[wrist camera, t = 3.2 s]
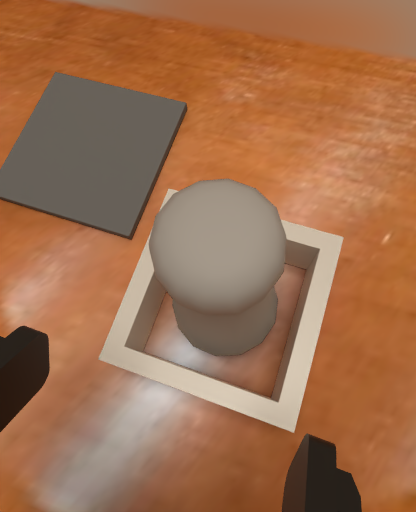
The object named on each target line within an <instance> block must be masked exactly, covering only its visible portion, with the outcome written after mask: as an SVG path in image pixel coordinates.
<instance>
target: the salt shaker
mask: <svg viewBox="0 0 416 512" xmlns="http://www.w3.org/2000/svg"><path fill="white" fill-rule="evenodd" d="M286 247H287V238H286V233H285V231H284V228H283V225H282V222H281V219H280V216H279V214H278V211H277V208H276V207H275V206H274V205H273V204H272V203H271V202H270V201H269V200H267V199H266V198H265V197H264V196H263V195H262V194H261V193H260V192H259V191H258V190H257V189H256V188H253V187H250V186H247V185H245V184H242V183H239V182H236V181H233V180H231V179H218V180H206V181H198V182H196V183H194V184H192V185H190V186H188V187H186V188H184V189H182V190H180V191H178V192H176V193H174V194H173V195H172V196H171V198H170V199H169V200H168V201H167V203H166V204H165V205H164V206H163V208H162V209H161V210H160V211H159V213H158V214H157V215H156V217H155V221H154V224H153V228H152V232H151V236H150V240H149V250H150V255H151V259H152V263H153V267H154V271H155V275H156V279H157V280H158V281H159V283H160V284H161V285H162V286H163V287H164V289H165V290H166V291H167V292H168V293H169V295H170V296H171V297H172V298H173V304H172V305H173V309H174V313H175V317H176V321H177V324H178V328H179V329H180V330H181V332H182V333H183V334H184V335H185V337H186V338H187V339H188V340H189V342H190V343H191V344H192V345H193V346H194V347H196V348H199V349H201V350H203V351H206V352H208V353H210V354H213V355H215V356H226V355H241V354H243V353H244V352H246V351H248V350H250V349H252V348H253V347H255V346H257V345H259V344H260V343H262V341H263V340H264V338H265V337H266V336H267V334H268V333H269V331H270V330H271V328H272V327H273V325H274V324H275V320H276V312H277V304H278V298H277V295H276V292H275V289H274V285H275V284H276V282H277V281H278V279H279V278H280V276H281V275H282V273H283V272H284V264H285V255H286Z"/></svg>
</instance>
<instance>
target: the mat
mask: <svg viewBox="0 0 416 512" xmlns="http://www.w3.org/2000/svg"><path fill="white" fill-rule="evenodd" d="M186 110H187V104H186V103H185V102H180V101H176V100H172V99H168V98H163V97H159V96H155V95H151V94H147V93H142V92H138V91H134V90H130V89H125V88H121V87H117V86H113V85H108V84H104V83H100V82H96V81H91V80H87V79H83V78H79V77H74V76H70V75H66V74H62V73H57V72H55V74H54V76H53V77H52V79H51V81H50V83H49V84H48V86H47V88H46V90H45V91H44V93H43V95H42V97H41V99H40V100H39V102H38V104H37V106H36V107H35V109H34V111H33V113H32V114H31V116H30V118H29V120H28V122H27V123H26V125H25V127H24V129H23V130H22V132H21V134H20V136H19V137H18V139H17V141H16V143H15V145H14V146H13V148H12V150H11V152H10V153H9V155H8V157H7V159H6V160H5V162H4V164H3V166H2V168H1V169H0V199H2V200H5V201H9V202H12V203H15V204H18V205H21V206H25V207H28V208H31V209H34V210H38V211H41V212H44V213H47V214H51V215H54V216H57V217H60V218H63V219H67V220H70V221H73V222H76V223H80V224H83V225H86V226H89V227H92V228H96V229H99V230H102V231H105V232H109V233H112V234H115V235H118V236H122V237H125V238H128V239H132V237H133V235H134V232H135V230H136V228H137V225H138V223H139V221H140V218H141V216H142V214H143V211H144V209H145V207H146V204H147V202H148V200H149V197H150V195H151V193H152V190H153V188H154V185H155V183H156V181H157V178H158V176H159V174H160V171H161V169H162V167H163V164H164V162H165V160H166V157H167V155H168V153H169V150H170V148H171V146H172V143H173V141H174V139H175V136H176V134H177V131H178V129H179V127H180V124H181V122H182V120H183V117H184V115H185V113H186Z"/></svg>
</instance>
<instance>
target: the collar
mask: <svg viewBox="0 0 416 512" xmlns="http://www.w3.org/2000/svg"><path fill="white" fill-rule="evenodd" d="M176 192H178V191H176V190H172V189H168V192H167V194H166V196H165V199H164V201H163V204H162V206H161V209H162V208H163V206H164V205H165V204H166V203H167V201H168V200H169V199H170V198H171V196H172V195H173V194H174V193H176ZM161 209H160V210H161ZM281 222H282V225H283V228H284V231H285V233H286V238H287V247H286V255H285V263H286V264H289V265H293V266H296V267H299V268H303V269H306V273H305V277H304V281H303V284H302V288H301V291H300V295H299V299H298V302H297V306H296V310H295V313H294V317H293V320H292V324H291V328H290V331H289V335H288V338H287V342H286V346H285V349H284V353H283V357H282V360H281V364H280V367H279V371H278V375H277V378H276V382H275V385H274V389H273V393H272V396H271V398H270V397H267V396H264V395H261V394H259V393H256V392H253V391H250V390H247V389H245V388H242V387H239V386H236V385H234V384H231V383H228V382H225V381H223V380H220V379H217V378H214V377H212V376H209V375H206V374H203V373H201V372H198V371H195V370H192V369H190V368H187V367H184V366H181V365H179V364H176V363H173V362H170V361H168V360H165V359H162V358H159V357H157V356H154V355H151V354H148V353H146V352H143V350H144V348H145V345H146V342H147V340H148V337H149V335H150V332H151V329H152V327H153V324H154V321H155V319H156V316H157V314H158V311H159V308H160V306H161V303H162V301H163V298H164V295H165V293H166V290H165V289H164V287H163V286H162V285H161V284H160V283H159V281H158V280H157V279H156V275H155V271H154V267H153V263H152V259H151V255H150V250H149V240H150V236H151V233H150V235H149V238H148V240H147V242H146V245H145V247H144V250H143V252H142V255H141V257H140V259H139V262H138V264H137V267H136V269H135V272H134V274H133V276H132V279H131V281H130V284H129V286H128V288H127V291H126V293H125V296H124V298H123V301H122V303H121V305H120V308H119V310H118V313H117V315H116V318H115V320H114V322H113V325H112V327H111V330H110V332H109V335H108V337H107V339H106V342H105V344H104V347H103V349H102V351H101V354H100V356H99V360H101V361H104V362H107V363H109V364H112V365H115V366H117V367H120V368H123V369H125V370H128V371H131V372H133V373H136V374H139V375H141V376H144V377H147V378H149V379H152V380H155V381H157V382H160V383H163V384H165V385H168V386H171V387H173V388H176V389H179V390H181V391H184V392H187V393H189V394H192V395H195V396H197V397H200V398H203V399H205V400H208V401H211V402H213V403H216V404H219V405H221V406H224V407H227V408H229V409H232V410H235V411H237V412H240V413H243V414H245V415H248V416H251V417H253V418H256V419H259V420H261V421H264V422H267V423H269V424H272V425H275V426H277V427H280V428H283V429H285V430H288V431H291V432H293V433H294V431H295V427H296V423H297V419H298V415H299V411H300V407H301V403H302V399H303V395H304V391H305V387H306V383H307V379H308V375H309V371H310V367H311V364H312V360H313V356H314V352H315V348H316V344H317V340H318V336H319V332H320V328H321V324H322V320H323V316H324V312H325V308H326V304H327V300H328V296H329V293H330V289H331V285H332V281H333V277H334V273H335V269H336V265H337V261H338V257H339V253H340V249H341V245H342V241H343V237H341V236H337V235H334V234H330V233H327V232H323V231H319V230H316V229H312V228H309V227H305V226H301V225H298V224H294V223H291V222H287V221H284V220H281ZM151 232H152V230H151Z"/></svg>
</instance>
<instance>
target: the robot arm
mask: <svg viewBox="0 0 416 512" xmlns="http://www.w3.org/2000/svg"><path fill="white" fill-rule="evenodd" d="M48 374H49V340H48V336H47V334H45V333H42V332H40V331H37V330H34V329H32V328H29V327H27V326H21V327H19V328H17V329H16V330H15V331H13V332H12V333H11V334H10V335H8V336H7V337H6V338H3V337H1V336H0V432H1V431H2V430H3V429H4V428H5V427H6V426H7V425H8V423H9V422H10V421H11V420H12V419H13V418H14V417H15V416H16V415H17V414H18V413H19V412H20V410H21V409H22V408H23V407H24V406H25V405H26V404H27V403H28V402H29V401H30V400H31V399H32V397H33V396H34V395H35V394H36V393H37V392H38V391H39V390H40V389H41V388H42V386H43V385H44V383H45V381H46V379H47V377H48ZM282 512H362V509H361V497H360V494H359V492H358V489H357V487H356V485H355V482H354V480H353V477H352V475H351V473H348V472H345V471H343V470H340V469H338V468H336V447H335V444H333V443H331V442H328V441H326V440H323V439H320V438H318V437H315V436H312V435H310V434H306V435H305V436H304V438H303V440H302V442H301V444H300V446H299V448H298V451H297V453H296V455H295V457H294V459H293V461H292V463H291V465H290V467H289V470H288V474H287V477H286V482H285V487H284V496H283V505H282Z"/></svg>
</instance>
